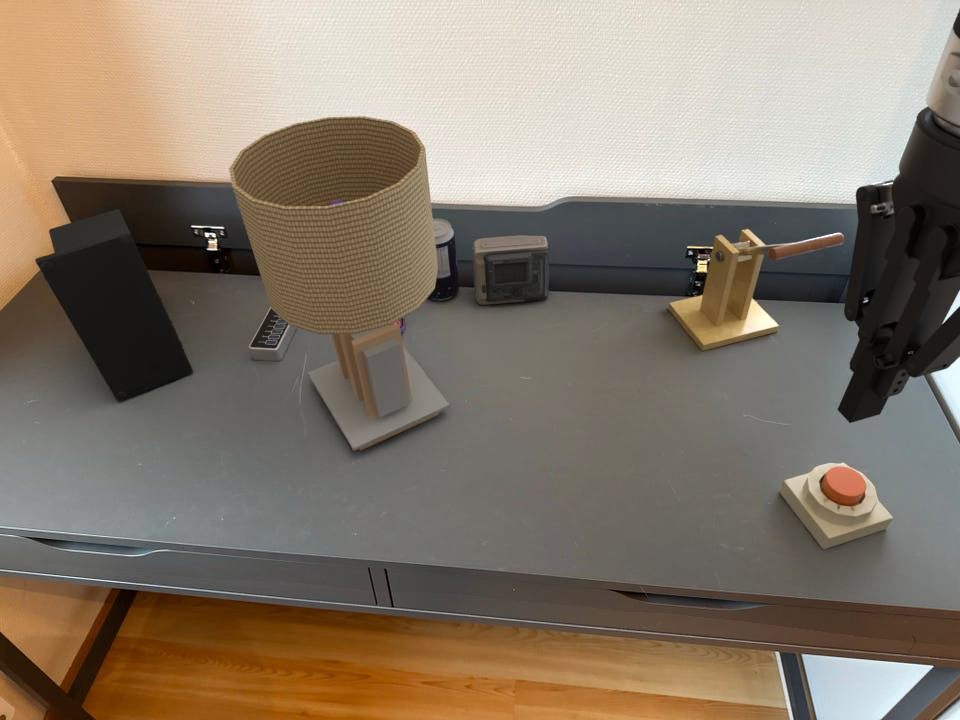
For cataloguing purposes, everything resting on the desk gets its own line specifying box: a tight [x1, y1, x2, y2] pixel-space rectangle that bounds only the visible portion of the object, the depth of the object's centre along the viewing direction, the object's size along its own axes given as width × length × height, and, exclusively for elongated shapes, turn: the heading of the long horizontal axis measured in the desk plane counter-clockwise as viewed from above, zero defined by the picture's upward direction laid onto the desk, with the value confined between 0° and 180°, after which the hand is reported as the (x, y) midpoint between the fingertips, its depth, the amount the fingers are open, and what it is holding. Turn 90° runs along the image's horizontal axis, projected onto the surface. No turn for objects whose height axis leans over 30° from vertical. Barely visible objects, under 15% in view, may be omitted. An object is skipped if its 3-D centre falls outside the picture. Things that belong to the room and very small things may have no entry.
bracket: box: [667, 228, 780, 352], centre depth 98 cm, size 10×12×14 cm
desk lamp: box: [228, 115, 451, 452], centre depth 82 cm, size 20×20×35 cm
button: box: [821, 466, 866, 506], centre depth 76 cm, size 4×4×2 cm
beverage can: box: [428, 218, 460, 301], centre depth 107 cm, size 6×6×12 cm
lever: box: [731, 232, 845, 262], centre depth 88 cm, size 16×9×2 cm
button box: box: [778, 462, 894, 550], centre depth 77 cm, size 8×8×4 cm
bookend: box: [34, 208, 194, 402], centre depth 98 cm, size 23×11×24 cm, turn 31°
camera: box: [471, 234, 550, 306], centre depth 106 cm, size 11×6×10 cm, turn 92°
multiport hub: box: [248, 306, 298, 362], centre depth 106 cm, size 4×14×2 cm, turn 172°
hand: (858, 411), depth 54 cm, fingers closed
